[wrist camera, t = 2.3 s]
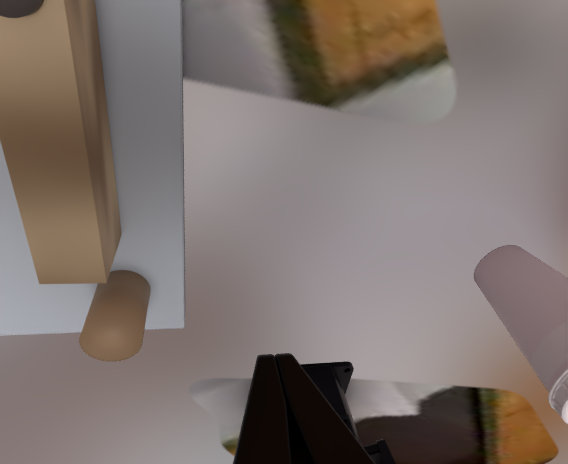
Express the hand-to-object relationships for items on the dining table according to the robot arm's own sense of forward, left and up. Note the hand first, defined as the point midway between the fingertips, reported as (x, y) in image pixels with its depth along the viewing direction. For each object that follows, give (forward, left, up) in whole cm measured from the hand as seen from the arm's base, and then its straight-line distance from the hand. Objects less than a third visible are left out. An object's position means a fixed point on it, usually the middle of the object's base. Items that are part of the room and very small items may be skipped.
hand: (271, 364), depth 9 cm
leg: (+3, +7, -10) cm, 12 cm away
